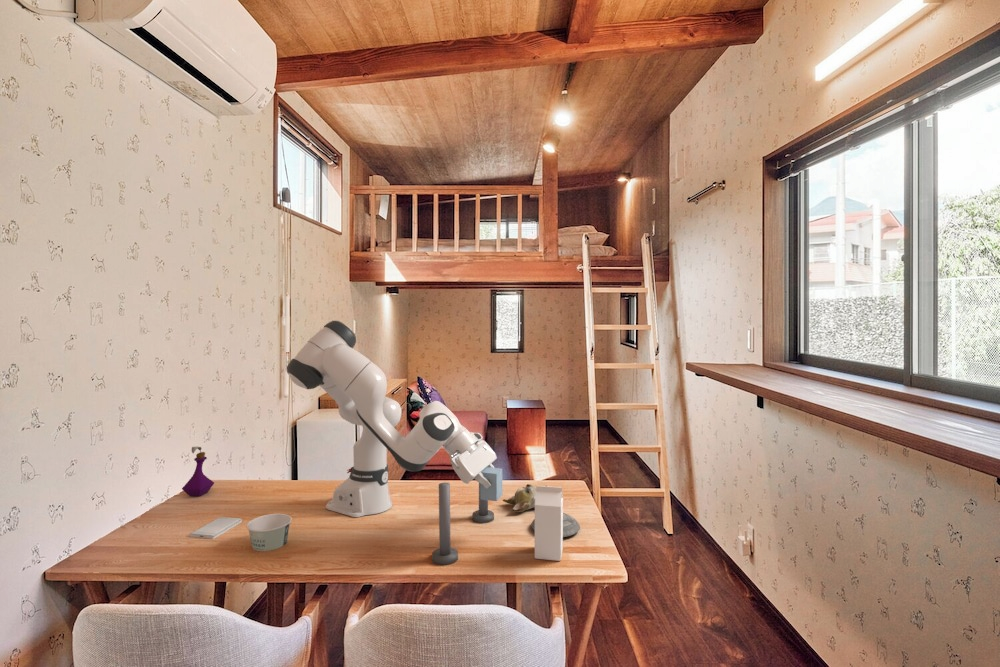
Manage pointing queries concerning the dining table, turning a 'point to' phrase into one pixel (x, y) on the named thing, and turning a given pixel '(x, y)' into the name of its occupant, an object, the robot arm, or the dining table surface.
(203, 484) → the perfume bottle
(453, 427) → the robot arm
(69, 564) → the dining table surface
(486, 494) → the slate block
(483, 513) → the far post
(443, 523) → the near post
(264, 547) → the food container
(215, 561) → the dining table surface
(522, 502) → the ceramic sculpture
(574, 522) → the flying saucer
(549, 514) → the milk carton
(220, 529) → the hard drive
